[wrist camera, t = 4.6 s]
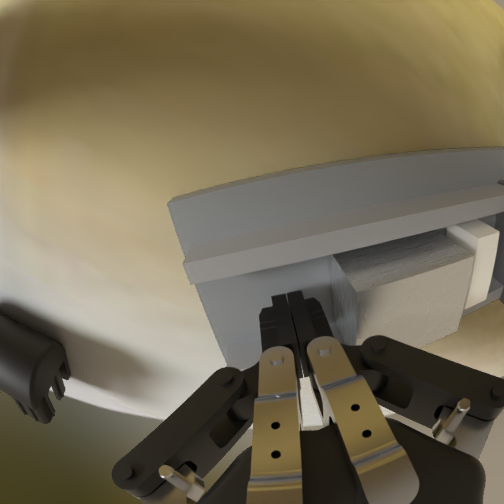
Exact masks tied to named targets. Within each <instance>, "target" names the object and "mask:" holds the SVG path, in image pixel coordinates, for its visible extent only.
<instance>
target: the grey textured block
mask: <svg viewBox="0 0 504 504" xmlns="http://www.w3.org/2000/svg"><path fill="white" fill-rule="evenodd" d="M473 259H474V256H473V255H472V254H471V253H469V252H468V251H467V250H465V249H464V248H462V247H461V246H459V245H458V244H457V243H455V242H454V241H452V240H451V239H449V238H448V237H446V236H445V235H443V234H442V233H440V232H439V231H437V230H432V231H428V232H424V233H420V234H416V235H412V236H408V237H404V238H400V239H396V240H392V241H387V242H383V243H379V244H375V245H371V246H366V247H362V248H358V249H354V250H349V251H345V252H341V253H336V254H332V255H329V265H330V275H331V286H332V298H333V311H334V319H335V321H336V324H337V326H338V328H339V331H340V333H341V335H342V338H343V340H344V343H345V345H362V343H363V342H364V340H365V339H367V338H369V337H371V336H374V335H383V336H386V337H389V338H392V339H394V340H397V341H399V342H402V343H405V344H407V345H410V346H412V347H415V348H419V347H421V346H424V345H426V344H429V343H431V342H433V341H436V340H438V339H440V338H443V337H445V336H447V335H449V334H452V333H454V332H456V331H457V329H458V326H459V323H460V319H461V315H462V312H463V308H464V304H465V300H466V295H467V291H468V286H469V281H470V276H471V271H472V265H473Z"/></svg>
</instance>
